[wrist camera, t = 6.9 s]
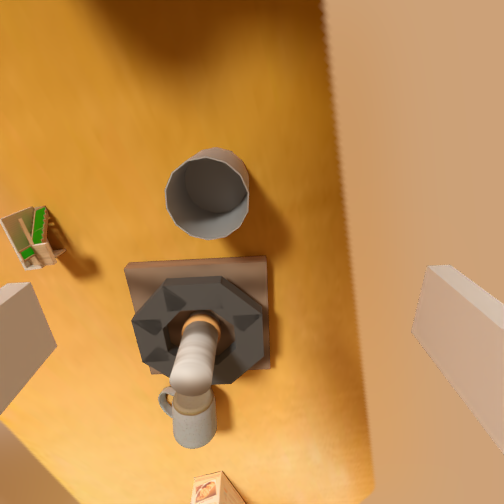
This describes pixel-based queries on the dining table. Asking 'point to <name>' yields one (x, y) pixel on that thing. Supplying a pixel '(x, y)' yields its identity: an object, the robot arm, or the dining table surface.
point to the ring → (200, 298)
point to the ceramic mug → (191, 417)
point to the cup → (209, 194)
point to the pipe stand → (201, 314)
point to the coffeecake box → (214, 490)
